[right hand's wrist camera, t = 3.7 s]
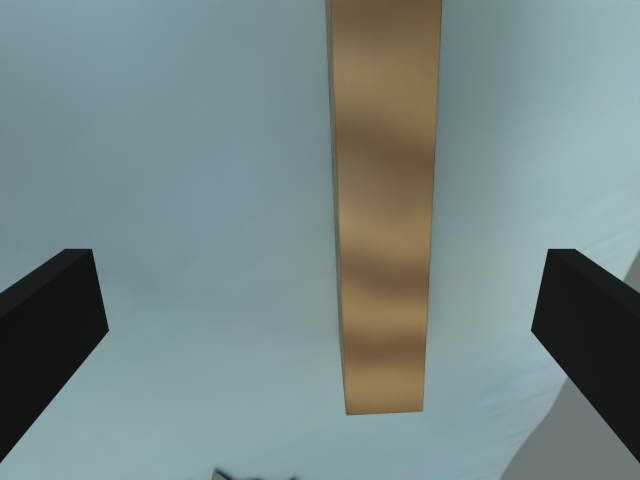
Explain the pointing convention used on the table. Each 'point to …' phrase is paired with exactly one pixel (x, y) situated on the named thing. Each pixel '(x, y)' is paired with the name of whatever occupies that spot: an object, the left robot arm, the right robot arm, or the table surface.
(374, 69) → the beam
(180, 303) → the table surface
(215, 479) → the decorative wreath
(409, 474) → the table surface
